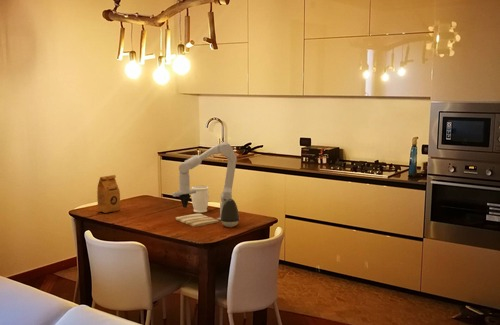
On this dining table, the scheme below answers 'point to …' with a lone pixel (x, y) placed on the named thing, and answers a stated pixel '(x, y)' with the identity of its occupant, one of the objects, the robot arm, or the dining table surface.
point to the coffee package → (108, 195)
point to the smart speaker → (229, 213)
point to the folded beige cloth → (202, 221)
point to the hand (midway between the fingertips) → (184, 207)
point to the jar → (200, 198)
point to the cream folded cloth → (190, 217)
